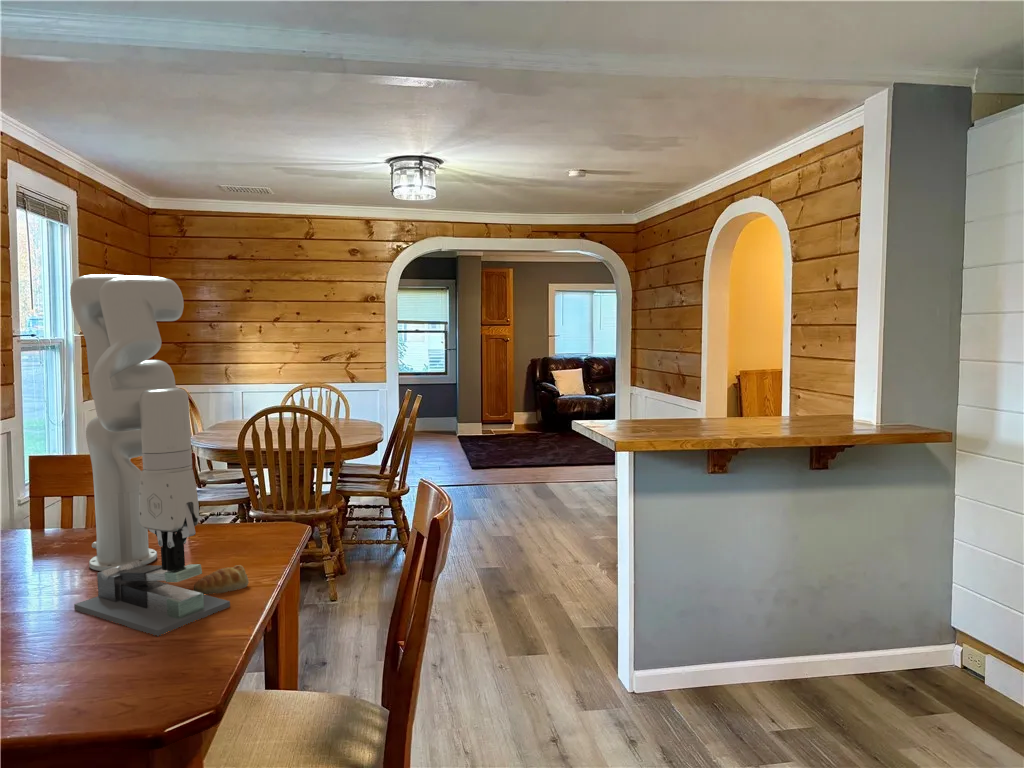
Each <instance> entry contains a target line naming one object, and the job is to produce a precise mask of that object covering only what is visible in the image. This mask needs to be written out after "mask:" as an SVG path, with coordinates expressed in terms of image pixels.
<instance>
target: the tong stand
mask: <svg viewBox="0 0 1024 768" xmlns="http://www.w3.org/2000/svg"><path fill="white" fill-rule="evenodd" d="M140 566H141V563H140V561H139V560H136V561H133V562H130V563H126V564H123V565H120V566H116V567H113V568H110V569H107V570H103V571H99V572H97V573H96V574H97V575H96V577H97V580H96V581H97V594H98V596H97V597H99V598H103V599H106V600H109V601H113V602H118V601H120V600H121V601H122V602H125V603H129V604H132V605H136V606H139V607H142V608H148V609H152V610H155V611H158V612H162V613H165V614H167V616H170V617H174V618H177V619H180V618H183V617H185V616H188V615H190V614H193V613H195V612H198V611H200V610H203V609H204V602H203V593H200V592H196V591H193V590H194V589H193V590H192V589H187V588H184V587H180V586H177V585H173V584H170V583H169V582H165V581H121V578H120V572H124V571H127V570H130V569H133V568H136V567H140Z"/></svg>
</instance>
